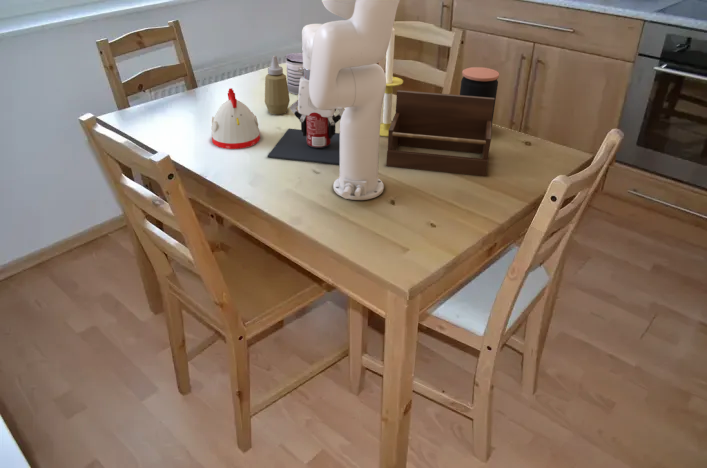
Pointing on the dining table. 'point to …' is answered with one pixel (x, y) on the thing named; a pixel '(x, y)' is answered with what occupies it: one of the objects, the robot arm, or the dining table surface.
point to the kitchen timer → (234, 125)
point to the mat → (305, 149)
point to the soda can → (317, 131)
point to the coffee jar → (480, 83)
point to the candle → (389, 87)
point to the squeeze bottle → (276, 89)
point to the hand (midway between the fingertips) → (318, 135)
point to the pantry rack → (440, 131)
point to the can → (294, 71)
